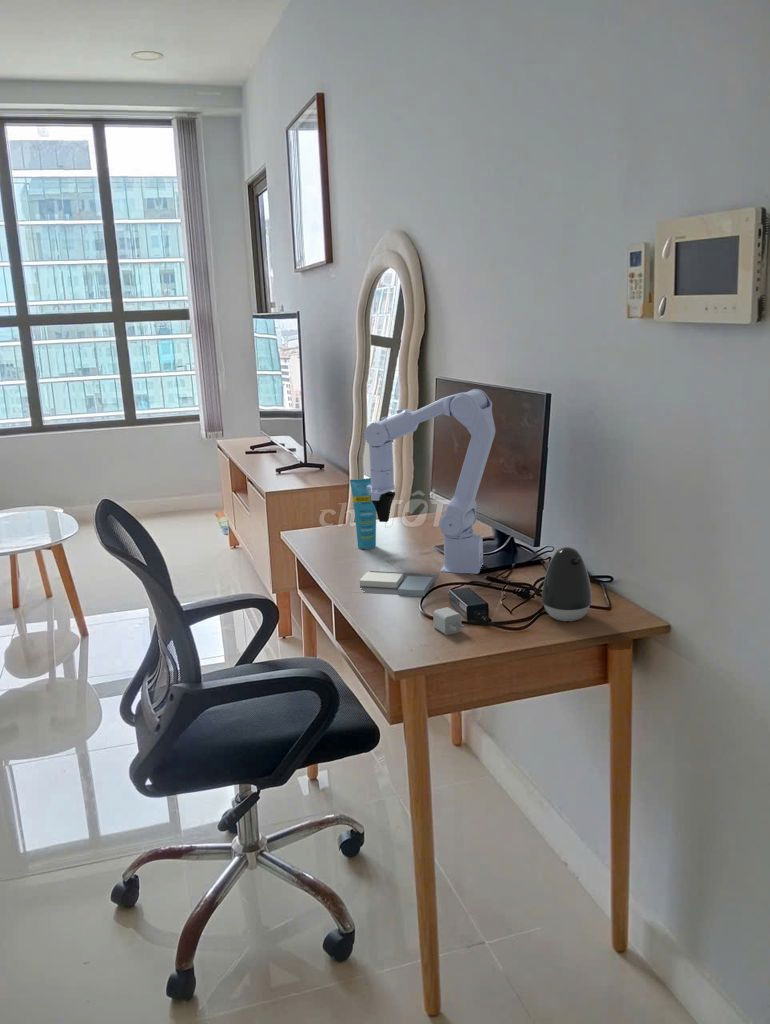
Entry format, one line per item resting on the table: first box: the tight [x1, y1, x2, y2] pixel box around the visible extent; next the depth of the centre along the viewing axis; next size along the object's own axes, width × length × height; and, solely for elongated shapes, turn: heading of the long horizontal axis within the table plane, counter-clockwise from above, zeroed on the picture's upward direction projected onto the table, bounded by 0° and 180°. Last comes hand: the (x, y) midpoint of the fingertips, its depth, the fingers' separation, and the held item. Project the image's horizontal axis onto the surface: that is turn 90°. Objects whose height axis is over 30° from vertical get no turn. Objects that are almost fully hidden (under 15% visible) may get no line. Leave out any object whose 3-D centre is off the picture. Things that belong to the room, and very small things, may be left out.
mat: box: [360, 570, 439, 597], centre depth 201 cm, size 17×15×1 cm
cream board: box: [359, 571, 403, 588], centre depth 201 cm, size 9×1×6 cm
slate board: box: [397, 576, 434, 597], centre depth 196 cm, size 9×6×1 cm, turn 164°
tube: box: [349, 477, 377, 550], centre depth 228 cm, size 7×5×19 cm, turn 103°
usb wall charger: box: [432, 606, 466, 636], centre depth 172 cm, size 4×7×4 cm, turn 28°
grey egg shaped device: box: [541, 546, 593, 622], centre depth 175 cm, size 10×10×15 cm
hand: (383, 521), depth 216 cm, fingers closed
